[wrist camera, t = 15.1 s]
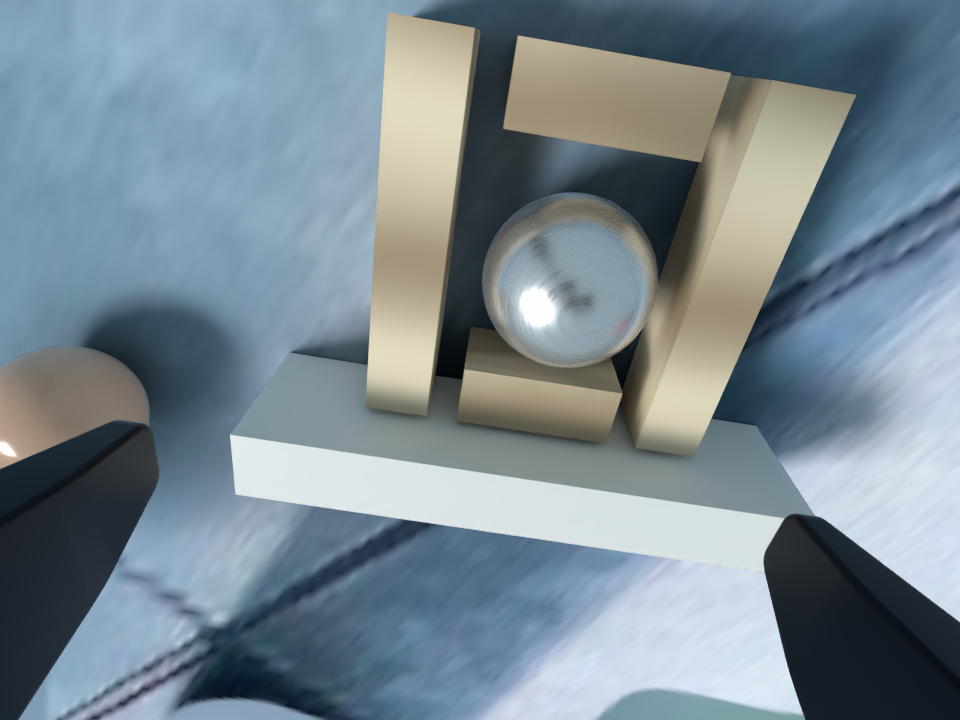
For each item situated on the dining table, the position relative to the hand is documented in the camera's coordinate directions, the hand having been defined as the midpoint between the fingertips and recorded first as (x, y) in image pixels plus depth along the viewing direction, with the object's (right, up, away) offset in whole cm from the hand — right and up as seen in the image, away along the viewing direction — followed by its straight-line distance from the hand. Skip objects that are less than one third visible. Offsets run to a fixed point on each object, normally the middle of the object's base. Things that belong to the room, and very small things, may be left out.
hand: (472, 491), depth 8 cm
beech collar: (+3, +6, +10) cm, 12 cm away
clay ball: (-14, 0, +11) cm, 18 cm away
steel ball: (+3, +4, +8) cm, 9 cm away
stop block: (+2, 0, +14) cm, 14 cm away
